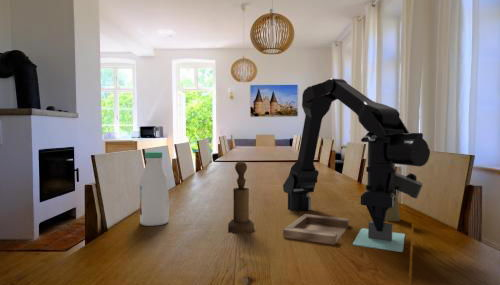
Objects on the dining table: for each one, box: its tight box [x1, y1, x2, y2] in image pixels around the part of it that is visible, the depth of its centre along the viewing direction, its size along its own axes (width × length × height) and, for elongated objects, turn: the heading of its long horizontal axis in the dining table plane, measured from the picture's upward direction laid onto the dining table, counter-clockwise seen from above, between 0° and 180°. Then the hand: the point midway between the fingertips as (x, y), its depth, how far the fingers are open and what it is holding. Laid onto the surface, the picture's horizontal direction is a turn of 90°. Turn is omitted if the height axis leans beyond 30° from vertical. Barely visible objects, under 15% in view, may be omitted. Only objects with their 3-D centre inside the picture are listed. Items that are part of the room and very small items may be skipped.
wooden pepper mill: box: [227, 161, 255, 234], centre depth 85 cm, size 7×6×18 cm
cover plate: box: [352, 220, 406, 253], centre depth 77 cm, size 10×13×4 cm
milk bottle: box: [139, 151, 170, 227], centre depth 94 cm, size 8×8×20 cm
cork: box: [385, 190, 401, 222], centre depth 96 cm, size 6×6×11 cm
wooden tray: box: [282, 213, 350, 246], centre depth 84 cm, size 12×17×3 cm
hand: (379, 230), depth 77 cm, fingers closed on cover plate, 2 cm apart
